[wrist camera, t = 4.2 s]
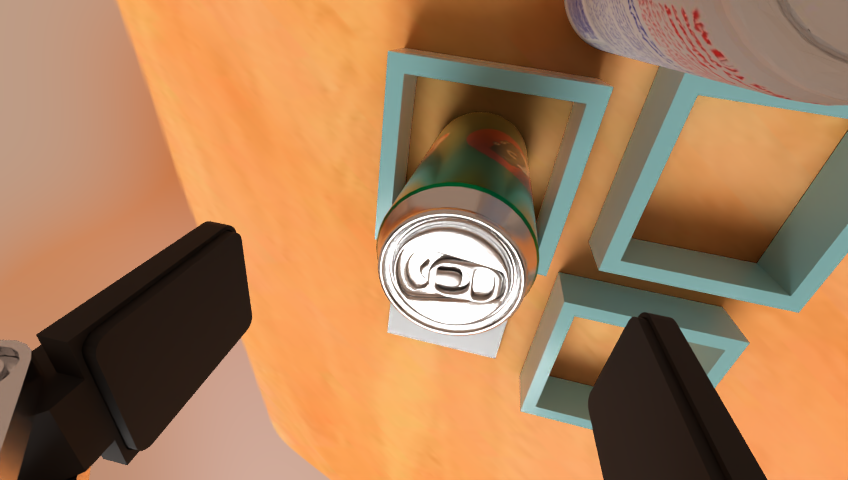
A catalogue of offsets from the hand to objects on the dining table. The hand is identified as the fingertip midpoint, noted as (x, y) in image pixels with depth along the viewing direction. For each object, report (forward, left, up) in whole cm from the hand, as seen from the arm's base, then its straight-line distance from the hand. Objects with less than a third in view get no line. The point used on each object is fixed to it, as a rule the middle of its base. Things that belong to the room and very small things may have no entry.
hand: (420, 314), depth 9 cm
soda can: (0, 0, -14) cm, 14 cm away
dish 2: (-12, -1, -14) cm, 19 cm away
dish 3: (-11, +11, -14) cm, 21 cm away
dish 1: (0, 0, -14) cm, 14 cm away
